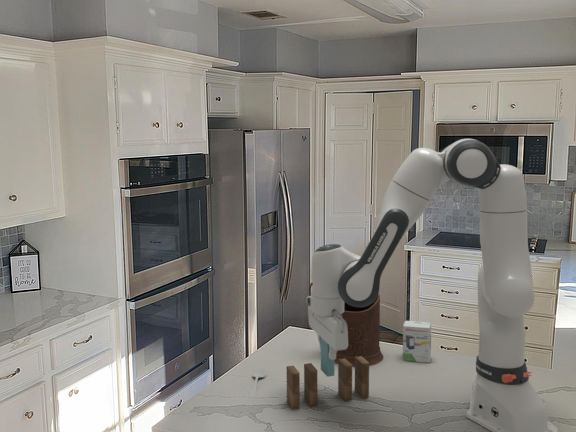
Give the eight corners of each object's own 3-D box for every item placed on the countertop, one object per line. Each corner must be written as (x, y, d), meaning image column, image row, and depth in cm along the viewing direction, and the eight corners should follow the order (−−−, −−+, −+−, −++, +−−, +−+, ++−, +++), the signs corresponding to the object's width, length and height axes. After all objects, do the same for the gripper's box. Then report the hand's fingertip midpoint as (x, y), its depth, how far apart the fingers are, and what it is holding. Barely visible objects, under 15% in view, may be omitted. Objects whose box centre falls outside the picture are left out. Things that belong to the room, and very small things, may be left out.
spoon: (267, 372, 177) (267, 367, 177) (256, 404, 157) (256, 398, 156) (254, 372, 177) (254, 367, 177) (241, 403, 157) (241, 397, 157)
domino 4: (344, 392, 162) (344, 358, 161) (352, 400, 157) (352, 365, 156) (338, 393, 161) (338, 359, 160) (345, 401, 157) (345, 366, 155)
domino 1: (293, 400, 158) (293, 365, 156) (299, 408, 153) (299, 372, 151) (286, 401, 157) (286, 366, 156) (292, 409, 152) (292, 373, 151)
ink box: (430, 357, 186) (431, 322, 184) (429, 363, 181) (430, 327, 180) (403, 354, 189) (404, 319, 187) (402, 360, 184) (402, 325, 182)
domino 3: (327, 368, 159) (327, 333, 158) (334, 375, 155) (334, 339, 153) (320, 369, 159) (320, 334, 157) (327, 376, 154) (327, 340, 153)
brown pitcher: (387, 367, 179) (388, 288, 175) (309, 367, 180) (309, 289, 176) (379, 345, 197) (380, 273, 194) (308, 345, 198) (308, 274, 194)
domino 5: (361, 389, 164) (361, 356, 162) (368, 397, 159) (369, 362, 157) (354, 390, 163) (354, 357, 161) (362, 398, 158) (362, 363, 157)
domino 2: (311, 397, 159) (311, 363, 158) (317, 405, 154) (317, 370, 153) (304, 398, 158) (304, 363, 157) (310, 406, 154) (310, 371, 152)
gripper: (354, 315, 145) (354, 367, 147) (325, 293, 164) (325, 340, 167) (331, 318, 143) (330, 371, 145) (304, 295, 163) (304, 342, 165)
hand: (327, 354), depth 156 cm, fingers closed on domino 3, 5 cm apart
